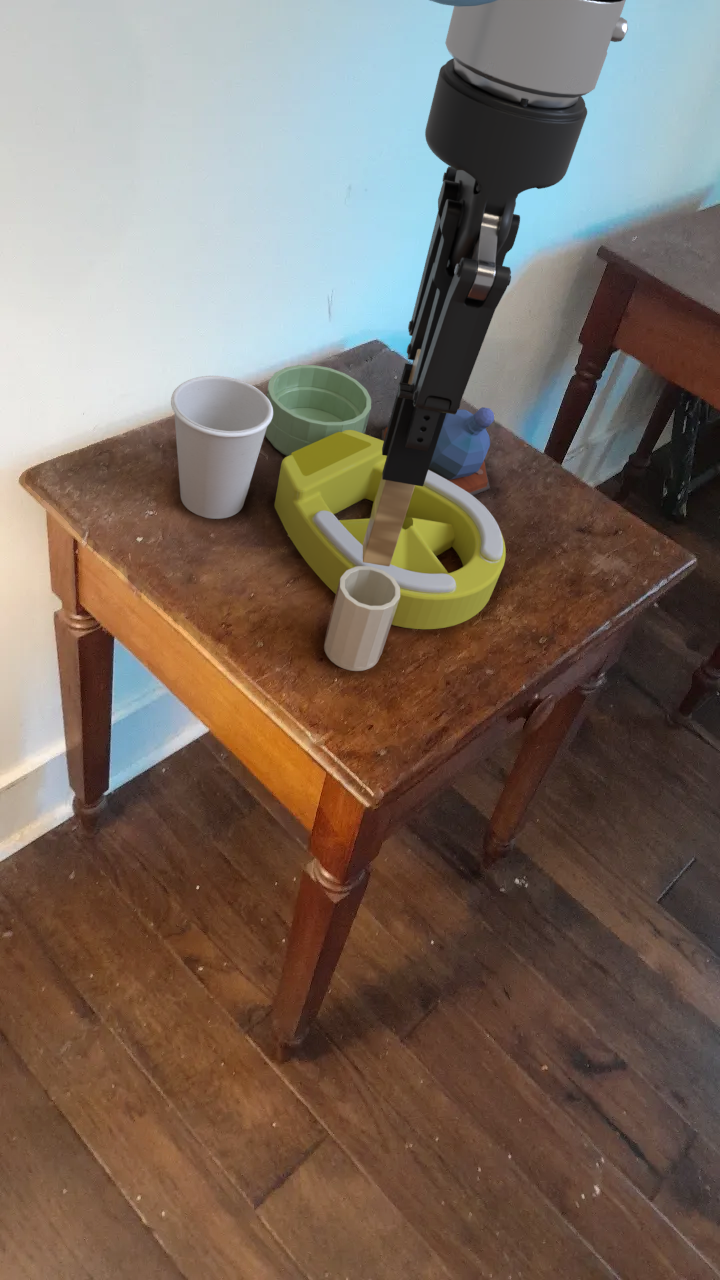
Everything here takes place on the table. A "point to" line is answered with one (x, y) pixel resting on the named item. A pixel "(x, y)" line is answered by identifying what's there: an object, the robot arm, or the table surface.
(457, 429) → the model
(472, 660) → the table surface
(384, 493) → the stick
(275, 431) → the bowl
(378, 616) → the holder
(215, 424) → the dixie cup
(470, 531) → the toy steering wheel
